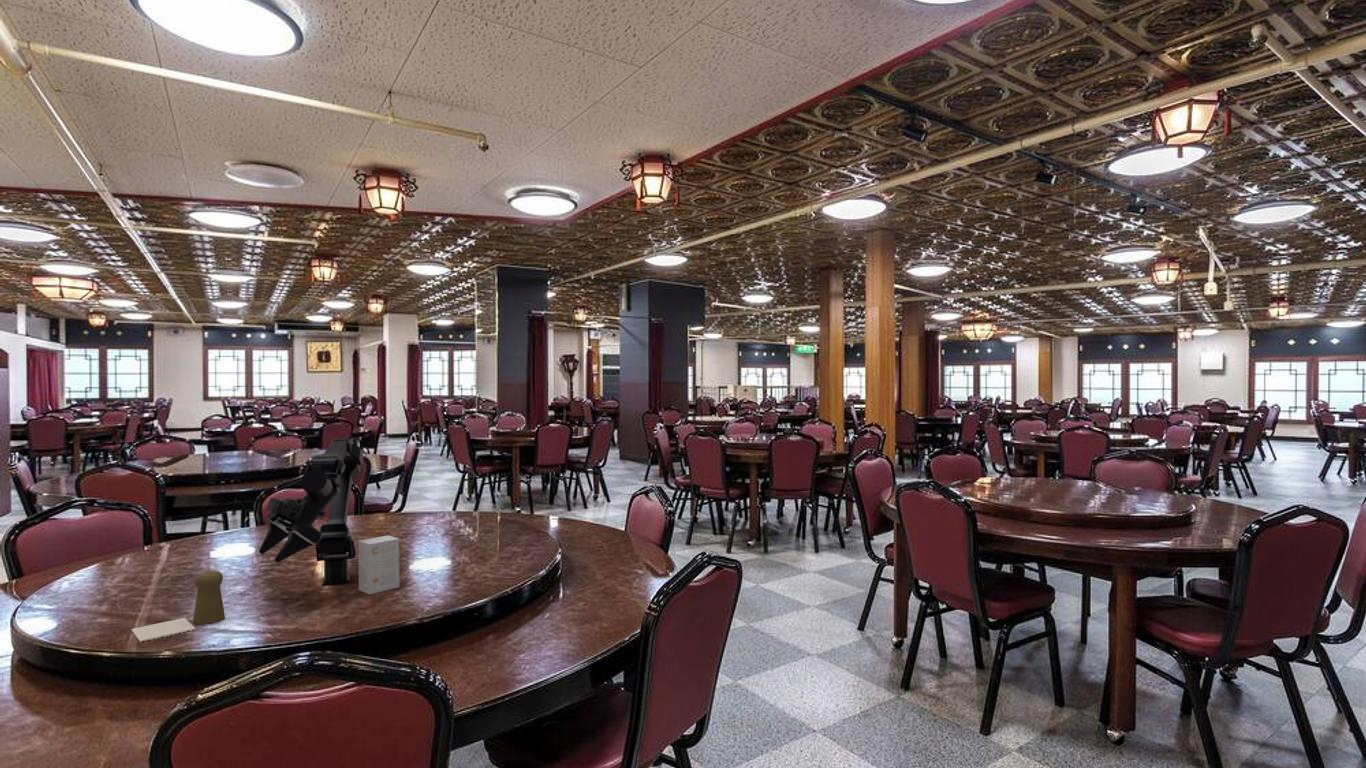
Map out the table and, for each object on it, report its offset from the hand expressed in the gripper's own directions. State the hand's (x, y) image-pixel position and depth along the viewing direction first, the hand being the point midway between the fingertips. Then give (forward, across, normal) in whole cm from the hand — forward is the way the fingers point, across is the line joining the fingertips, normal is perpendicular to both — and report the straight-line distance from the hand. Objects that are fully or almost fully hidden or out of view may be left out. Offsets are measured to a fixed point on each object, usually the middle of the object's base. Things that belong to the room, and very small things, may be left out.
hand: (267, 557), depth 159 cm
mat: (+22, -2, -6) cm, 23 cm away
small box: (-7, +6, +26) cm, 28 cm away
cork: (+17, -1, 0) cm, 17 cm away
